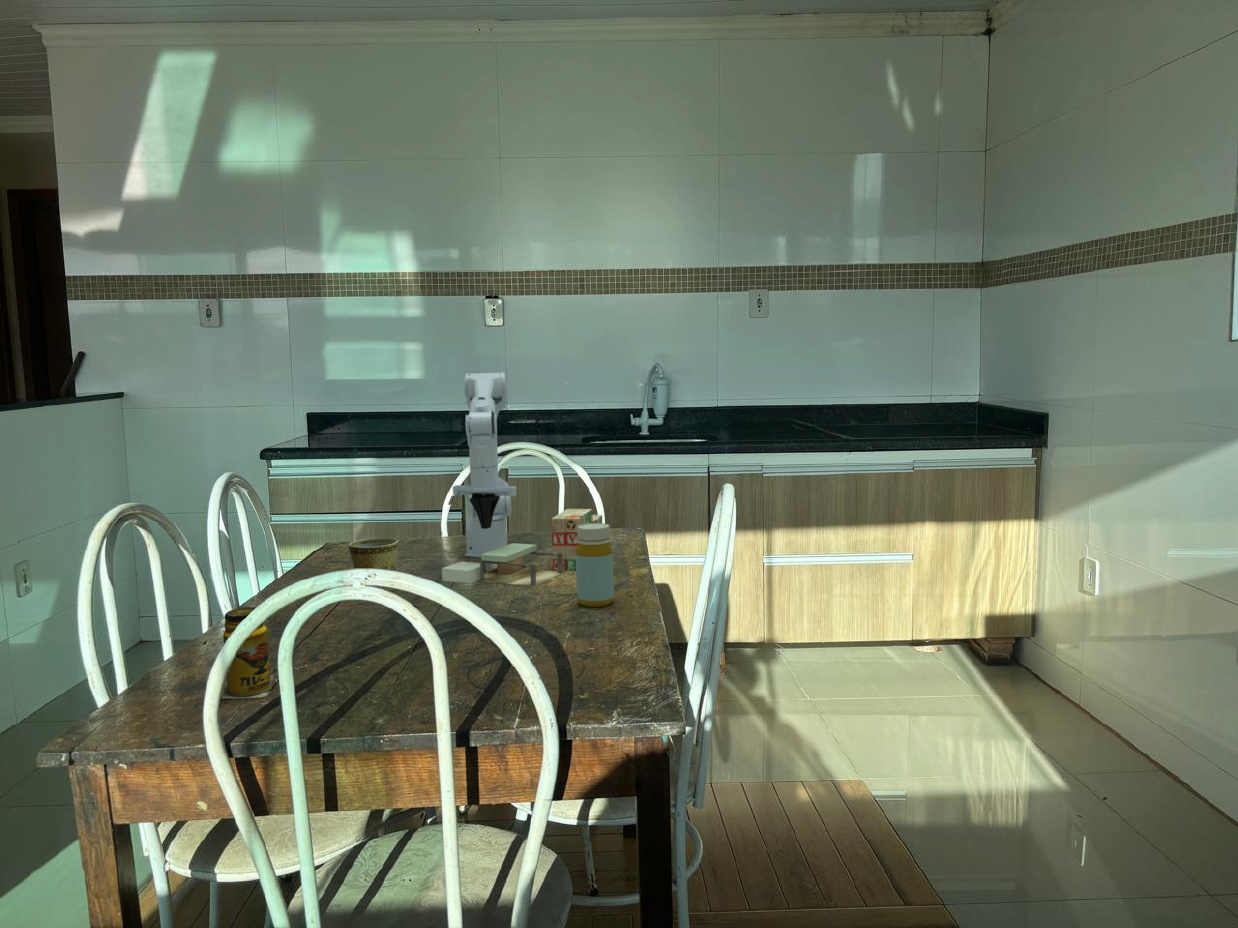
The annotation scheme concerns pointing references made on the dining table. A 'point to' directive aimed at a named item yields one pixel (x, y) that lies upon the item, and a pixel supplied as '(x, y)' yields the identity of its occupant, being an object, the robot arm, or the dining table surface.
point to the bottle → (594, 565)
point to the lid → (508, 552)
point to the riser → (462, 572)
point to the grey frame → (521, 572)
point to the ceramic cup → (374, 553)
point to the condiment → (247, 660)
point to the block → (510, 567)
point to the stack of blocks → (569, 534)
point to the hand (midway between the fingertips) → (486, 527)
